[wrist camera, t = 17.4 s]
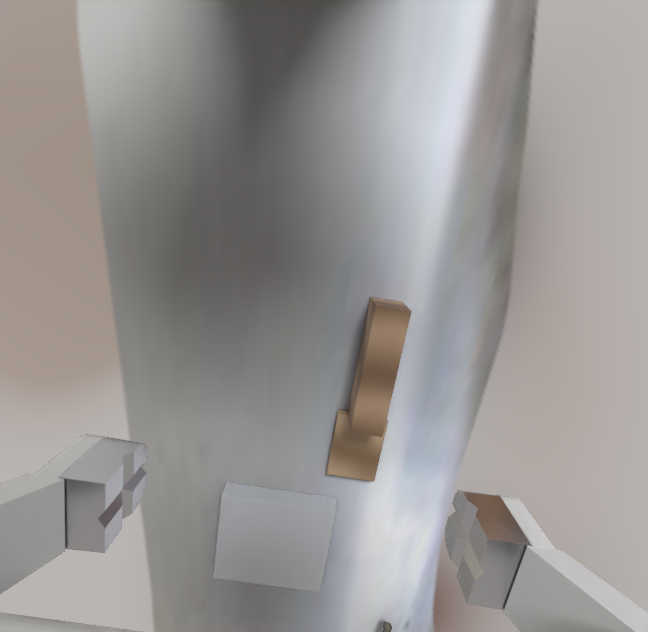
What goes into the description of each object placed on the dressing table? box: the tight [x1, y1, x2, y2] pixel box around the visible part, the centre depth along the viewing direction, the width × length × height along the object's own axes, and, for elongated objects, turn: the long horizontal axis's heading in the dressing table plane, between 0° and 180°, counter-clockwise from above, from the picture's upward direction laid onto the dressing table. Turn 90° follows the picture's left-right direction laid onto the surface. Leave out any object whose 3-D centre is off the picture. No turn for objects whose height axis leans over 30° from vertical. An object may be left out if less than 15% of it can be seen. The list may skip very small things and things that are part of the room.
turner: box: [327, 297, 411, 481], centre depth 34 cm, size 19×5×4 cm, turn 171°
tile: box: [213, 482, 336, 593], centre depth 39 cm, size 2×12×11 cm
